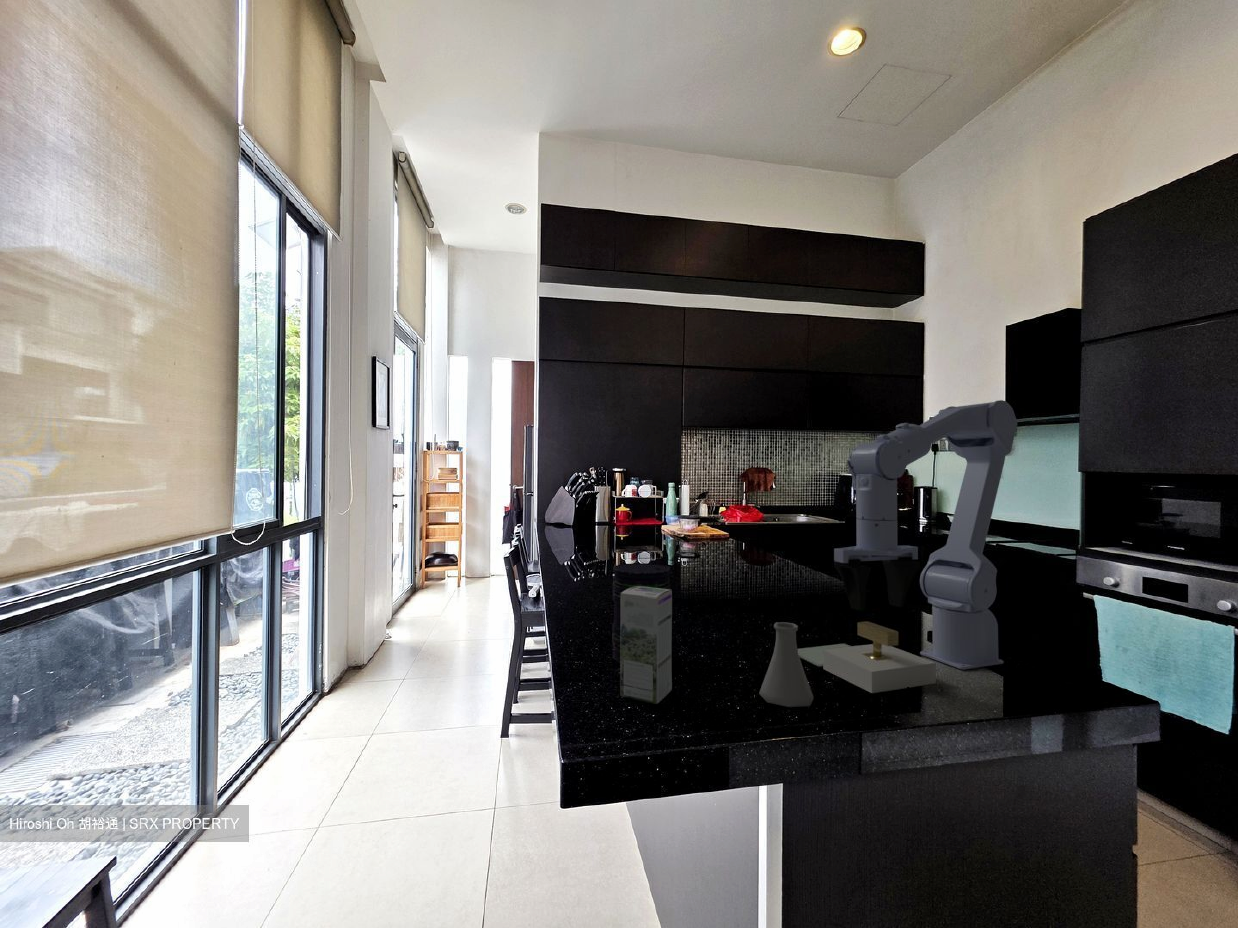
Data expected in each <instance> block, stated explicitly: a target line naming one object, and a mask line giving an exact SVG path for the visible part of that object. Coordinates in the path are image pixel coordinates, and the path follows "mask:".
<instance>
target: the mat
mask: <svg viewBox="0 0 1238 928" xmlns="http://www.w3.org/2000/svg"><path fill="white" fill-rule="evenodd" d="M844 647H852V646H851V645H850V644H849V645H848V644H847V643H837V644H829V645H821V646H811V647H810V646H809V647H803V648H797V649H798V654H799V657H800V659H802V660H805V661H807V662H809V664H813V665H815V666H817V667H823V650H827V649H835V648H844Z"/></svg>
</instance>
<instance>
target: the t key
mask: <svg viewBox="0 0 1238 928" xmlns="http://www.w3.org/2000/svg"><path fill="white" fill-rule="evenodd" d="M857 636H859V637H861V638H864V639H867V640H870V641H872V644H873V654H869V657H870V658H872V659H875V660H877V661H879V660H886V656H884V655H882V644H883V645H886V646H892V647H894V646H899V631H897V630H895V629H891V628H890V627H889V628H888V627H887V626H886V627H885V626H882V625H880V624H877V623H874V622H870V621H859V622H857Z"/></svg>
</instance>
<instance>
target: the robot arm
mask: <svg viewBox="0 0 1238 928" xmlns="http://www.w3.org/2000/svg"><path fill="white" fill-rule="evenodd" d="M1017 427H1018V420H1017V418H1016V414H1015V411H1014V408H1013V407H1012V406H1011V405H1010V404H1009V403H1008V402H1007V401H1006V400H1002V399H999V400H996V401H991V402H984V403H983V402H982V403H976V404H975V403H973V404H968V405H959V406H955V405H954V406H948V407H946V408H944V409H940V410H939V411H938V413H937V414H935V415H934V416H933V417H931V418H929V419H927V420H926V421H924V422H923V423H921V424H920V425H918V424H916V423H915V424H914V423H909V422H903V423H899V424H896V426H895V430H893V431H891V432H888V433H886V434H879V435H877V436H876V439H875V440H874V441H873V442H867V443H865V442H863V443H859V444H857V445H856V446H855V447H854V448H853V449H852V450H851V452H850V454H849V458H848V459H847V460H846V465H847V469H848V472H849V474H850V475H851V478H852V487H854V488H853V489H854V490H856V491H855V492H856V493H855V495H856V496H855V501H856V503H855V504H856V505H855V507H856V508H855V510H856V513H855V514H856V516H855V517H856V519H855V520H856V521H855V522H856V545H855V546H848V547H847V546H846V547H839V548H838V547H837V548H834V549H833V561H834V563H833V564H834V568H835V569H836V572H837V573H838V574H839V577H840V578H841V580H842V581H841V582H842V583H843V585H844V588H845V591H846V594H847V599H848V601H849V606H850V608H851V609H854V610H856V611H859V612H862V611H863V612H864V611H865V607H866V595H867V593H866V591H867V584H868V581H869V580H868V579H869V576H870V573H871V571H872V567H871V566H868V565H864V564H863V563H862V562H870V561H871V562H872V561H875V562H876V561H881V563H882V566H883V570H884V573H885V577H886V583H887V598H888V604H889V606H894V607H897V608H903V607H904V605H905V601H906V597H907V593H908V591H909V588H910V586H911V583H912V581H913V580H914V577H915V575H916V574H917V572H918V571H919V569H920V568H921V567H920V566H921V565H920V563H921V562H920V561H917V560H918V559H919V553H918V551H919V550H918V549H919V547H918V546H913V545H912V546H911V545H898V478H901V477H902V476H903V475H904V473H905V471H906V469H907V467H908V466H909V465H911V464H912V463H914V462H916V461H917V460H919V459H921V458H923V457H925V456H926V455H928V454H929V453H930V451H931V449H932V444H934V443H937V442H939V441H940V440H943V439H945V440H946V442H947V443H948V444H949V446H950V447H951V448H952V450H953V451H954V452H955V454H956V455H957V456H958V457H959V458H960V457H961V458H963V459H965V461H966V466H965V470H964V473H963V478H962V482H961V486H960V489H959V495H958V498H957V502H956V506H955V509H954V513H953V518H952V521H951V526H950V528H949V529H950V530H949V534H948V537H947V540H946V544H945V545H944V546H943V547H941V548H939V549H937V550H935V551H934V552H932V553H930V555H929V558H928V560H927V564H926V565H925V567H924V568H922V571H921V572H920V576H919V577H920V578H919V586H920V589H921V591H922V594H923V595H924V597H926V598H927V603H928V604H930V605H932V607H931V610H932V611H931V614H932V617H931V618H932V621H931V622H932V624H931V625H932V649H929V650H928V649H927V650H921V651H920V652H919V655H921V656H924V657H927V658H930V659H932V660H935V661H938V662H940V663H942V664H946V665H949V666H951V667H954V668H956V669H959V670H970V669H977V668H982V667H990V666H996V665H1002V664H1004V662H1005V661H1004V660H1002V659H999V625H998V621H997V618H996V616H995V615H994V613H993V612H992V611H991V610H990V609H989V608H990V607H991V605H993V603H994V602H995V600H996V597H997V573H998V569H997V568H996V566H995V565H994V563H993V562H991V561H990V560H989V559H988V558H987V557H986V556H985V555H984V554H983V552H984V549H985V548H984V547H985V546H986V539H987V536H988V533H989V532H988V531H989V527H990V523H991V520H992V516H993V511H994V507H995V502H996V498H997V495H998V490H999V486H1000V482H1001V478H1002V473H1003V470H1004V465H1005V462H1006V461H1005V460H1006V456H1008V455H1009V454H1011V452H1012V447H1013V444H1014V440H1015V435H1016V431H1017Z"/></svg>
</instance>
